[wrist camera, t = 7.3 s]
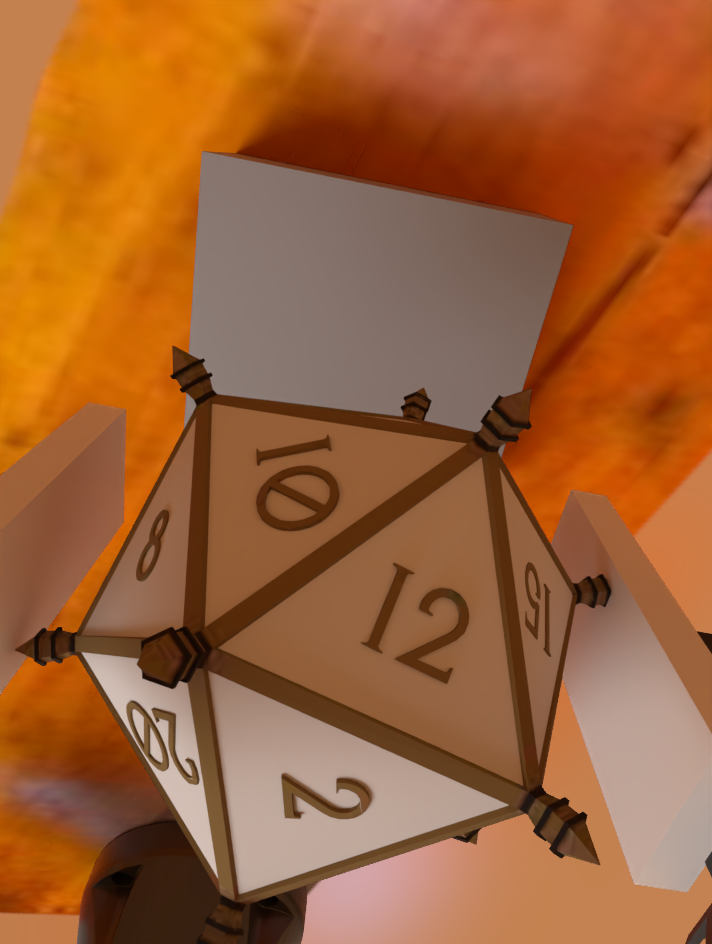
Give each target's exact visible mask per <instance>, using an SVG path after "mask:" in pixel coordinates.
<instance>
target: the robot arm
mask: <svg viewBox="0 0 712 944" xmlns="http://www.w3.org/2000/svg"><path fill="white" fill-rule="evenodd" d="M125 432H126V409H122V408H116V407H111V406H105V405H99V404H94V403H88V404H87V405H85V406H84V407H83V408H82V409H80V410H79V411H78V412H77V413H76V414H74V415H73V416H72V417H71V418H70V419H68V420H67V421H66V422H65V423H63V424H62V425H61V426H60V427H59V428H57V429H56V430H55V431H54V432H53V433H51V434H50V435H49V436H48V437H46V438H45V439H44V440H43V441H42V442H40V443H39V444H38V445H37V446H36V447H34V448H33V449H32V450H31V451H29V452H28V453H27V454H26V455H25V456H23V457H22V458H21V459H20V460H19V461H17V462H16V463H15V464H14V465H12V466H11V467H10V468H9V469H8V470H6V471H5V472H4V473H3V474H2V475H0V694H1V693H2V691H3V690H4V689H5V687H6V686H7V684H8V683H9V682H10V680H11V679H12V677H13V676H14V675H15V673H16V672H17V670H18V669H19V668H20V666H21V665H22V663H23V662H24V661H25V659H26V658H27V656H26V655H24V654H22V653H20V652H17V651H15V649H16V648H18V647H19V646H21V645H22V644H24V643H25V642H27V641H28V640H30V639H31V638H33V637H34V636H35V635H36V634H37V633H38V632H39V631H40V630H41V629H42V628H46V630H47V628H48V627H49V626H50V624H51V623H52V622H53V620H54V619H55V617H56V616H57V615H58V613H59V612H60V610H61V609H62V608H63V606H64V605H65V603H66V602H67V601H68V599H69V598H70V596H71V595H72V594H73V592H74V591H75V589H76V588H77V587H78V585H79V584H80V582H81V581H82V580H83V578H84V577H85V575H86V574H87V573H88V571H89V570H90V568H91V567H92V566H93V564H94V563H95V561H96V560H97V559H98V557H99V556H100V554H101V553H102V552H103V550H104V549H105V547H106V546H107V545H108V543H109V542H110V540H111V539H112V538H113V536H114V535H115V533H116V532H117V531H118V529H119V528H120V526H121V525H122V524H123V522H124V481H125ZM551 546H552V548H553V549H554V551H555V553H556V555H557V556H558V558H559V560H560V562H561V564H562V565H563V567H564V569H565V571H566V572H567V574H568V576H569V578H570V579H571V581H572V583H579V582H581V581H582V580H583V579H584V578H586V577H587V576H590V577H591V579H592V578H596V577H597V576H598V575H600V574H603V575H604V577H605V579H607V581H608V584H609V587H610V589H611V595H610V598H609V600H608V602H607V605H606V607H603V606H602V605H596V606H595V608H591V607H589V606H588V605H586V604H582V603H579V604H577V605H576V606H575V611H574V617H573V622H572V627H571V633H570V638H569V644H568V649H567V654H566V660H565V665H564V671H563V676H562V678H563V680H564V684H565V687H566V690H567V692H568V695H569V698H570V701H571V704H572V707H573V709H574V712H575V715H576V718H577V721H578V724H579V727H580V730H581V733H582V735H583V738H584V741H585V744H586V747H587V750H588V752H589V756H590V759H591V761H592V764H593V767H594V770H595V773H596V776H597V778H598V781H599V784H600V787H601V790H602V793H603V795H604V799H605V802H606V804H607V807H608V810H609V813H610V816H611V819H612V822H613V825H614V828H615V830H616V833H617V836H618V839H619V842H620V845H621V848H622V850H623V853H624V856H625V859H626V862H627V865H628V868H629V871H630V873H631V876H632V879H633V882H634V884H637V885H644V886H650V887H657V888H663V889H670V890H676V891H683V892H688V890H689V889H690V887H691V886H692V884H693V883H694V881H695V880H696V878H697V877H698V876H699V874H700V873H701V871H702V870H703V868H704V867H705V865H706V866H707V868H708V870H709V872H710V874H711V877H712V634H709V633H703V632H697V631H696V630H695V628H694V627H693V626H692V624H691V623H690V621H689V619H688V618H687V617H686V615H685V613H684V612H683V610H682V609H681V607H680V606H679V604H678V603H677V602H676V600H675V598H674V597H673V596H672V594H671V592H670V591H669V589H668V588H667V586H666V585H665V583H664V582H663V580H662V579H661V578H660V576H659V575H658V573H657V572H656V570H655V568H654V567H653V565H652V564H651V563H650V561H649V559H648V558H647V557H646V555H645V554H644V552H643V551H642V549H641V547H640V546H639V544H638V543H637V542H636V540H635V538H634V537H633V535H632V534H631V532H630V531H629V529H628V528H627V526H626V525H625V523H624V522H623V520H622V519H621V518H620V516H619V515H618V513H617V512H616V510H615V509H614V507H613V506H612V504H611V503H610V501H609V500H608V498H607V497H606V496H604V495H598V494H593V493H587V492H582V491H576V490H571V492H570V495H569V498H568V500H567V503H566V505H565V508H564V511H563V513H562V516H561V519H560V521H559V524H558V527H557V529H556V532H555V535H554V537H553V540H552V543H551ZM220 896H221V895H220V893H219V891H218V890H217V888H216V886H215V885H214V883H213V881H212V880H211V878H210V876H209V874H208V873H207V871H206V869H205V868H204V866H203V864H202V863H201V861H200V859H199V858H198V856H197V854H196V853H195V851H194V849H193V848H192V846H191V844H190V843H189V841H188V839H187V838H186V836H185V834H184V833H183V831H182V829H181V828H180V826H179V824H178V823H177V822H169V823H159V824H154V825H149V826H145V827H141V828H138V829H135V830H132V831H130V832H127V833H125V834H123V835H121V836H120V837H118V838H116V839H115V840H113V841H112V842H111V843H110V844H108V845H107V846H106V847H105V848H104V849H103V851H102V852H101V853H100V855H99V856H98V858H97V860H96V862H95V865H94V867H93V870H92V872H91V875H90V877H89V880H88V882H87V885H86V887H85V890H84V893H83V897H82V901H81V907H80V917H79V928H78V937H77V944H197V943H196V941H197V938H198V937H199V936H200V934H203V933H204V931H205V928H206V926H207V923H205V920H206V918H207V916H208V915H209V914H213V913H214V911H215V910H216V908H217V907H218V905H219V904H220ZM306 903H307V894H306V888H305V886H302V887H299V888H296V889H293V890H290V891H287V892H284V893H281V894H278V895H275V896H272V897H269V898H266V899H263V900H259V901H256V902H253V903H250V904H247V905H246V906H245V908H244V910H243V911H242V920H241V929H243V930H244V933H243V936H241V935H239V936H238V940H237V943H236V944H301V941H302V937H303V931H304V923H305V912H306ZM705 938H706V944H712V904H711V905H710V906H709V908H708V909H707V910H706V912H705V913H704V915H703V916H702V918H701V919H700V920H699V922H698V923H697V924H696V926H695V927H694V928H693V930H692V931H691V932H690V934H689V935H688V938H687V941H686V943H685V944H700V943H701V941H702V940H703V939H705Z"/></svg>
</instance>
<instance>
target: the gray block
mask: <svg viewBox="0 0 712 944" xmlns="http://www.w3.org/2000/svg"><path fill="white" fill-rule="evenodd" d="M573 226H574V225H571V224H568V223H565V222H562V221H559V220H556V219H553V218H550V217H547V216H544V215H541V214H537V213H532V212H527V211H522V210H517V209H512V208H507V207H502V206H497V205H492V204H487V203H482V202H477V201H472V200H467V199H462V198H457V197H452V196H447V195H442V194H437V193H432V192H427V191H422V190H417V189H412V188H407V187H402V186H397V185H392V184H387V183H382V182H377V181H372V180H367V179H362V178H357V177H352V176H347V175H341V174H336V173H331V172H326V171H321V170H316V169H311V168H306V167H301V166H296V165H291V164H286V163H281V162H276V161H271V160H266V159H261V158H256V157H251V156H246V155H241V154H236V153H222V152H206V151H202V160H201V176H200V191H199V207H198V222H197V238H196V253H195V269H194V284H193V300H192V315H191V331H190V346H189V354H190V355H192V356H194V357H196V358H198V359H203V358H204V359H205V362H204V363H203V365H204V367H205V369H206V371H207V372H208V373H210V372H211V373H212V375H213V376H212V377H210V380H211V384H212V388H213V390H214V391H215V392H216V393H217V394H221V395H229V396H238V397H246V398H254V399H262V400H270V401H279V402H287V403H295V404H303V405H312V406H320V407H328V408H336V409H344V410H353V411H361V412H369V413H377V414H386V415H394V416H402V417H403V411H402V410H401V406H402V405H404V404H405V400H404V399H403V398H404V396H407V395H409V394H412V393H414V392H417V391H418V390H420V389H421V388H423V387H424V389H425V391H426V394H427V396H428V398H429V399H430V400H432V401H431V404H430V407H429V410H428V412H427V414H426V417H425V420H424V421H428V422H432V423H437V424H441V425H446V426H450V427H455V428H459V429H464V430H468V431H473V432H478V431H479V430H481V427H482V425H483V424H482V423H481V422H480V421H481V420H482V418H483V417H484V415H485V414H486V412H487V411H488V410H491V411H492V410H493V409H492V408H491V406H492V404H493V403H494V402H495V400H496V399H497V397H498V396H499V395H500V396H502V397H506V396H509V395H512V394H515V393H518V392H521V391H522V390H523V386H524V383H525V380H526V377H527V374H528V370H529V367H530V364H531V361H532V357H533V354H534V351H535V348H536V345H537V341H538V338H539V335H540V332H541V329H542V325H543V322H544V319H545V316H546V312H547V309H548V306H549V303H550V300H551V296H552V293H553V290H554V287H555V284H556V280H557V277H558V274H559V271H560V267H561V264H562V261H563V258H564V255H565V251H566V248H567V245H568V242H569V238H570V235H571V232H572V229H573ZM195 408H196V403H195V401H194V400H193V399H192V398H191V397H190V396H189V395H188V394H187V393H186V408H185V423H184V428H185V427H186V425H187V423H188V421H189V419H190V417H191V415H192V413H193V411H194V409H195ZM504 447H505V444H504V445H502V446H501V447H500V448H499V450H498V453H499V454H500V456H501V457H502V454H503V451H504Z"/></svg>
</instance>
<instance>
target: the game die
mask: <svg viewBox="0 0 712 944" xmlns="http://www.w3.org/2000/svg"><path fill="white" fill-rule="evenodd" d="M172 346H173V345H172ZM204 362H205V359H204V358H203V359H198V358H196V357H194V356H192V355H190V354H188V353H186V352H184V351H182V350H180V349H179V348H177V347H175V346H173V374H172V375H171V378H172V379H177V381H178V382H179V384H180V385H181V387H182V388H181V389H180V391H181V392H182V393H183V392H186V393H187V394H188V395H189V396H190V397H191V398H192V399H193V400H194V401H195V403H196V408H195V409H194V411H193V413H192V415H191V417H190V419H189V421H188V423H187V425H186V427H185V428H184V430H183V432H182V434H181V436H180V438H179V440H178V442H177V444H176V445H175V447H174V449H173V451H172V453H171V455H170V457H169V459H168V461H167V463H166V464H165V466H164V468H163V470H162V472H161V474H160V476H159V478H158V480H157V482H156V483H155V485H154V487H153V489H152V491H151V493H150V495H149V497H148V499H147V500H146V502H145V504H144V506H143V508H142V510H141V512H140V514H139V516H138V518H137V519H136V521H135V523H134V525H133V527H132V529H131V531H130V533H129V535H128V537H127V538H126V540H125V542H124V544H123V546H122V548H121V550H120V552H119V554H118V555H117V557H116V559H115V561H114V563H113V565H112V567H111V569H110V571H109V573H108V574H107V576H106V578H105V580H104V582H103V584H102V586H101V588H100V590H99V592H98V593H97V595H96V597H95V599H94V601H93V603H92V605H91V607H90V609H89V610H88V612H87V614H86V616H85V618H84V620H83V622H82V624H81V626H80V628H79V629H78V631H77V632H75V633H71V632H66V631H63V630H62V627H58V628H57V629H56V630H55V631H47V630H46V628H42V629H41V630H40V631H39V632H38V633H37V634H36V635H35V636H34V637H33V638H31V639H30V640H28V641H27V642H25V643H24V644H22V645H21V646H19V647H18V648H16V649H15V651H17V652H20V653H22V654H24V655H26V656H29V657H31V658H33V659H34V661H35V662H37V663H39V664H40V665H42V666H45V665H46V664H47V662H50V661H55V662H57V663H62V661H63V659H65V658H67V657H69V656H72V655H77V656H78V657H79V659H80V661H81V662H82V664H83V666H84V667H85V669H86V671H87V672H88V674H89V676H90V677H91V679H92V681H93V682H94V684H95V686H96V687H97V689H98V691H99V692H100V694H101V696H102V697H103V699H104V701H105V702H106V704H107V706H108V707H109V709H110V711H111V712H112V714H113V716H114V717H115V719H116V721H117V722H118V724H119V726H120V727H121V729H122V731H123V733H124V734H125V736H126V738H127V739H128V741H129V743H130V744H131V746H132V748H133V749H134V751H135V753H136V754H137V756H138V758H139V759H140V761H141V763H142V764H143V766H144V768H145V769H146V771H147V773H148V774H149V776H150V778H151V779H152V781H153V783H154V784H155V786H156V788H157V789H158V791H159V793H160V794H161V796H162V798H163V799H164V801H165V803H166V804H167V806H168V808H169V809H170V811H171V813H172V814H173V816H174V818H175V819H176V821H177V823H178V824H179V826H180V828H181V829H182V831H183V833H184V834H185V836H186V838H187V839H188V841H189V843H190V844H191V846H192V848H193V849H194V851H195V853H196V854H197V856H198V858H199V859H200V861H201V863H202V864H203V866H204V868H205V869H206V871H207V873H208V874H209V876H210V878H211V880H212V881H213V883H214V885H215V886H216V888H217V890H218V891H219V893H220V895H221V896H220V904H219V905H218V907H217V908H216V910H215V911H214V913H213V914H209V915H208V916H207V918H206V920H205V923H207V926H206V928H205V931H204V933H203V934H200V936H199V937H198V938H197V941H196V943H197V944H236V943H237V940H238V936H239V935H241V936H243V933H244V930H243V929H241V920H242V911H243V910H244V908H245V906H246V905H247V904H250V903H253V902H256V901H259V900H263V899H266V898H269V897H272V896H275V895H278V894H281V893H284V892H287V891H290V890H293V889H296V888H299V887H302V886H305V885H308V884H311V883H314V882H318V881H321V880H324V879H327V878H330V877H333V876H336V875H339V874H342V873H345V872H348V871H351V870H354V869H357V868H360V867H363V866H366V865H369V864H373V863H375V862H379V861H381V860H385V859H388V858H391V857H394V856H397V855H400V854H403V853H406V852H409V851H412V850H415V849H418V848H421V847H424V846H428V845H430V844H434V843H437V842H440V841H442V840H446V839H449V838H454V839H457V840H460V841H463V842H466V843H468V842H471V843H473V844H476V843H477V836H478V831H479V830H480V829H481V828H483V827H486V826H489V825H492V824H495V823H498V822H501V821H504V820H507V819H510V818H513V817H516V816H519V815H522V814H525V813H526V814H527V815H528V816H529V818H530V819H531V821H532V823H533V824H534V826H535V829H534V831H533V832H534V833H535V834H536V835H537V836H539V837H540V838H542V839H543V840H545V841H546V840H547V841H548V842H549V843H550V844H551V847H550V848H549V849H550V850H551V851H552V852H553V853H554V854H555V855H557V856H559V857H560V858H563V857H564V856H565V855H566V856H569V857H573V858H576V859H580V860H584V861H587V862H590V863H594V864H597V865H600V862H599V860H598V857H597V854H596V851H595V848H594V845H593V842H592V840H591V837H590V834H589V831H588V828H587V825H586V818H587V814H585V813H584V812H582V813H580V814H578V813H577V812H575V811H574V810H573V809H572V808H571V807H569V806H568V804H569V800H568V799H567V798H565V797H564V798H562V799H561V800H560V799H557V798H555V797H553V796H551V795H549V794H547V793H546V792H545V791H544V789H543V788H542V784H543V779H544V773H545V768H546V762H547V757H548V752H549V746H550V741H551V735H552V730H553V725H554V718H555V714H556V708H557V703H558V698H559V692H560V687H561V681H562V676H563V671H564V665H565V660H566V654H567V649H568V644H569V638H570V633H571V627H572V622H573V617H574V611H575V606H576V605H577V604H579V603H582V604H586V605H588V606H589V607H591V608H595V606H596V605H602V606H603V607H606V605H607V602H608V600H609V598H610V595H611V589H610V587H609V584H608V581H607V579H605V577H604V575H603V574H600V575H598V576H597V577H596V578H592V579H591V577H590V576H587V577H586V578H584V579H583V580H582V581H581V582H579V583H572V581H571V579H570V578H569V576H568V574H567V572H566V571H565V569H564V567H563V565H562V564H561V562H560V560H559V558H558V556H557V555H556V553H555V551H554V549H553V548H552V546H551V544H550V542H549V541H548V539H547V537H546V535H545V534H544V532H543V530H542V528H541V527H540V525H539V523H538V521H537V520H536V518H535V516H534V514H533V513H532V511H531V509H530V507H529V505H528V504H527V502H526V500H525V498H524V497H523V495H522V493H521V491H520V490H519V488H518V486H517V484H516V483H515V481H514V479H513V477H512V476H511V474H510V472H509V470H508V469H507V467H506V465H505V463H504V462H503V460H502V458H501V456H500V454H499V453H498V450H499V448H500V447H501V446H502V445H504V444H506V443H507V442H509V441H512V442H516V441H517V440H518V439H519V438H518V436H517V435H518V434H519V433H520V432H521V431H522V430H523V429H530V428H531V427H532V426H531V424H530V422H529V410H530V400H531V390H532V388H530V389H527V390H524V391H521V392H518V393H515V394H512V395H509V396H506V397H502V396H500V395H499V396H498V397H497V399H496V400H495V402H494V403H493V404H492V406H491V408H492V409H493V410H492V411H491V410H488V411H487V412H486V414H485V415H484V417H483V418H482V420H481V421H480V422H481V423H482V424H483V425H482V427H481V430H479V431H478V432H473V431H468V430H464V429H459V428H455V427H450V426H446V425H441V424H437V423H432V422H428V421H424V420H425V417H426V414H427V412H428V410H429V407H430V404H431V401H432V400H430V399H429V398H428V396H427V394H426V391H425V389H424V387H423V388H421V389H420V390H418V391H417V392H414V393H412V394H409V395H407V396H404V398H403V399H404V400H405V404H404V405H402V406H401V410H402V411H403V417H402V416H394V415H386V414H377V413H369V412H361V411H353V410H344V409H336V408H328V407H320V406H312V405H303V404H295V403H287V402H279V401H270V400H262V399H254V398H246V397H238V396H229V395H221V394H217V393H216V392H215V391H214V390H213V388H212V384H211V380H210V377H212V376H213V375H212V373H211V372H210V373H208V372H207V371H206V369H205V367H204V365H203V363H204Z"/></svg>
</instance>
